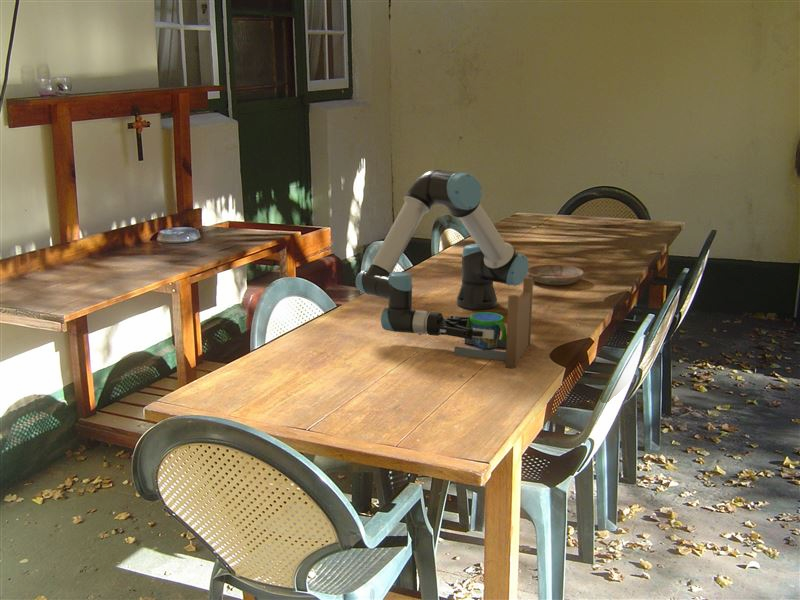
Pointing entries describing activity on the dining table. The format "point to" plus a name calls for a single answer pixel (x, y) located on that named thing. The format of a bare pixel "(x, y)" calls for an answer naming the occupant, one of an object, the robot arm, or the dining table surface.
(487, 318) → the snack cup
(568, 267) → the ceramic bowl
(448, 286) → the dining table surface
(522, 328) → the headboard cradle
